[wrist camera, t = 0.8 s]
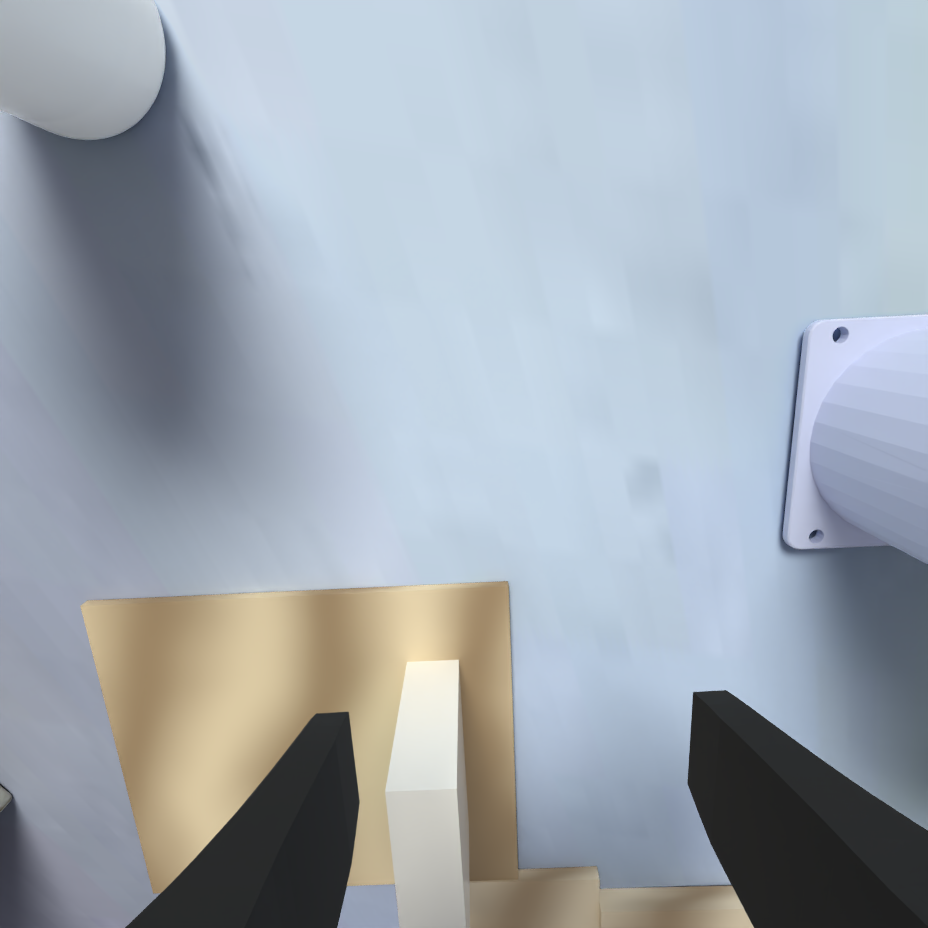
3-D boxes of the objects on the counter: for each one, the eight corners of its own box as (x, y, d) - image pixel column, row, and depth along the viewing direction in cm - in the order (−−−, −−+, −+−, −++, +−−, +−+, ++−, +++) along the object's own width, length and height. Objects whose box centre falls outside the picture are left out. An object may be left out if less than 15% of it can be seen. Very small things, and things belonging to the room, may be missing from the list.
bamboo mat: (507, 581, 21) (508, 586, 20) (517, 870, 24) (518, 879, 24) (87, 600, 21) (80, 605, 21) (158, 884, 24) (153, 893, 24)
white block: (458, 659, 21) (456, 788, 15) (468, 826, 23) (470, 995, 17) (404, 662, 21) (381, 792, 15) (419, 828, 23) (404, 998, 17)
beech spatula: (757, 862, 24) (769, 885, 23) (749, 930, 25) (761, 954, 24) (460, 869, 24) (460, 892, 23) (465, 936, 25) (465, 960, 24)
